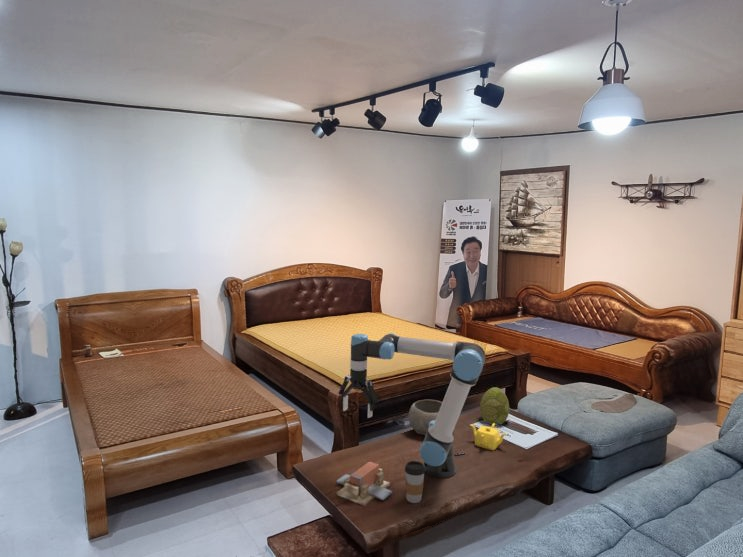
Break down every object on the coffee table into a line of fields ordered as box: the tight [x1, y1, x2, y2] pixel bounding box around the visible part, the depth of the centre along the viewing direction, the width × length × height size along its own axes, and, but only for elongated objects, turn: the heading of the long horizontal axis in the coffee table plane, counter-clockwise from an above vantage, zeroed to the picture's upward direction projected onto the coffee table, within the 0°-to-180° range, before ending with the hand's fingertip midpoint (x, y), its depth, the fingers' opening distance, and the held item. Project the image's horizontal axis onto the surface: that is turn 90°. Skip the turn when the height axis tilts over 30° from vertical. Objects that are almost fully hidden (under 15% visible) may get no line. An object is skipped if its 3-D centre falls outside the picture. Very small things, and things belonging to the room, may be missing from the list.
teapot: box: [469, 423, 507, 451], centre depth 267 cm, size 15×14×10 cm
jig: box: [336, 467, 393, 506], centre depth 221 cm, size 24×20×6 cm
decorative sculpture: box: [479, 386, 510, 425], centre depth 297 cm, size 16×16×20 cm
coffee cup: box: [404, 460, 426, 504], centre depth 215 cm, size 8×8×15 cm
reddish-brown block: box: [349, 461, 380, 495], centre depth 221 cm, size 5×15×7 cm, turn 147°
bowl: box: [407, 399, 443, 437], centre depth 281 cm, size 23×23×15 cm
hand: (357, 413), depth 236 cm, fingers open, 13 cm apart
